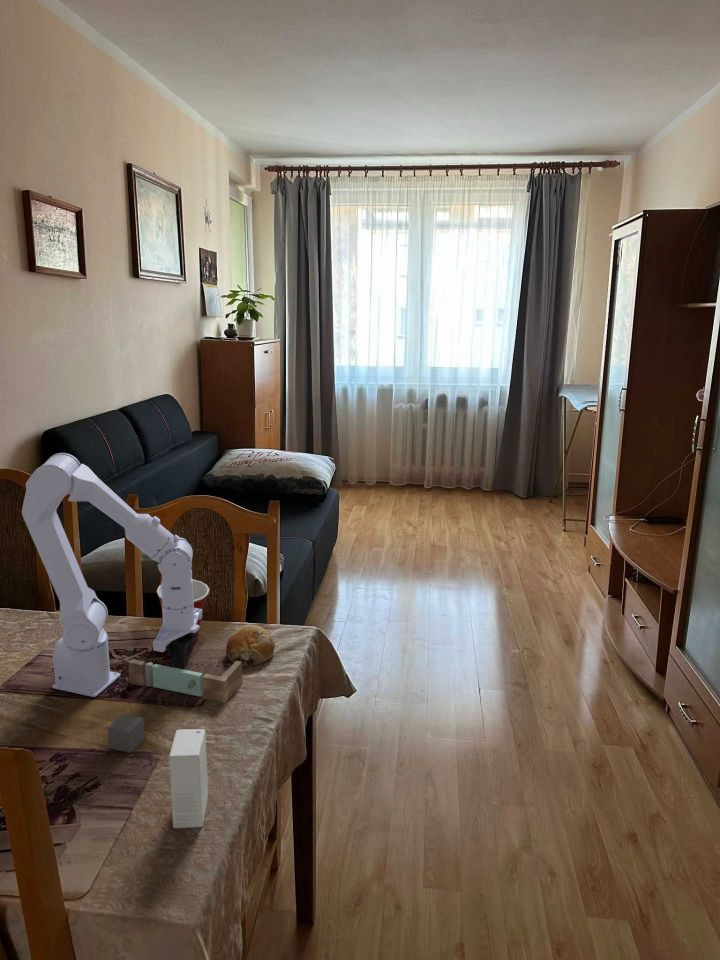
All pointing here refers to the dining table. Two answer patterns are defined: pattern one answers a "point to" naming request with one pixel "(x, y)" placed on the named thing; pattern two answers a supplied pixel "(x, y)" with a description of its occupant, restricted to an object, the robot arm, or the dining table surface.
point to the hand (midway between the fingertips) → (180, 667)
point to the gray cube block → (126, 732)
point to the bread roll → (250, 645)
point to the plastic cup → (194, 597)
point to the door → (174, 679)
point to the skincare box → (188, 778)
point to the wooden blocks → (212, 684)
